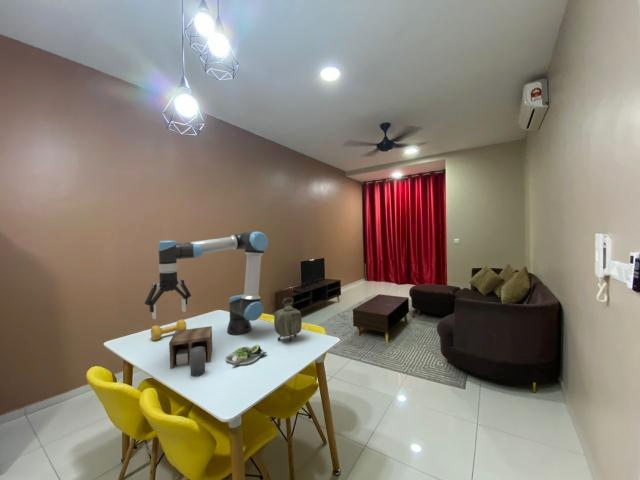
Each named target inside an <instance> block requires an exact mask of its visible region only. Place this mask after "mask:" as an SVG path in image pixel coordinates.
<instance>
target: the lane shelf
mask: <svg viewBox="0 0 640 480" xmlns="http://www.w3.org/2000/svg"><path fill="white" fill-rule="evenodd" d="M212 327H213V326H202V327H196V328H195V327H194V328H193V327H192V328H188V329H187V328H186V330H178V331H174V332H173V335H172V337H171V339H170V341H169V343H168V347H169V348H168V349H169V369H174V367H175V364H176V363H177V362H176V354H177V352H178V350H181V349H187V348H189V362H188V364H189V366H190V349H192V348H194V347H198V346H203V347H206V349H207V363H210V362H211V361H212V353H213V330H212V329H213V328H212Z"/></svg>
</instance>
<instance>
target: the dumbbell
mask: <svg viewBox="0 0 640 480" xmlns="http://www.w3.org/2000/svg"><path fill="white" fill-rule="evenodd" d="M186 329H187V323H186V321H185V320H184V319H179V320H177V321H176V324H174V325H171V326H167V327H163V328H161V327H160V326H159V325H153V326H152V327H151V328H150V336H151V337H150V338H151V340H153V341H155V342H156V341H158V340H160V339H161V337H162V335H165V334H169V333H172V332H173V333H174V332H175V331H178V330H186Z"/></svg>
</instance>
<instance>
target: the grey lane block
mask: <svg viewBox="0 0 640 480" xmlns="http://www.w3.org/2000/svg"><path fill="white" fill-rule="evenodd" d="M175 363H176V365H177V366H179V365H184V364H189V348H187V349H181V350H178V352H177V354H176V362H175Z"/></svg>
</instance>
